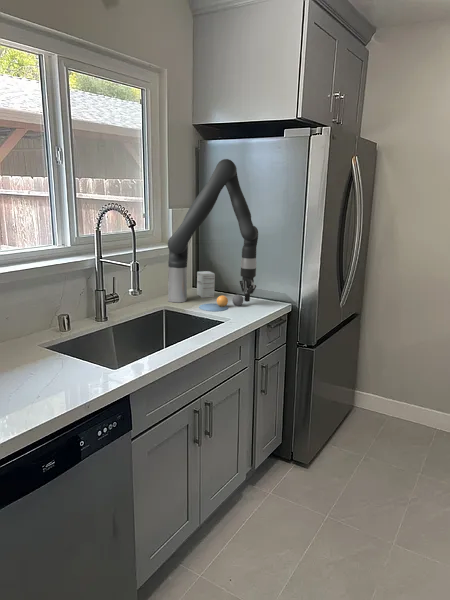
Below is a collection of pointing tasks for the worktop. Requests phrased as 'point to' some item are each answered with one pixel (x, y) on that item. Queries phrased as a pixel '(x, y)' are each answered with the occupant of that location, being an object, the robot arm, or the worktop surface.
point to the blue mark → (212, 307)
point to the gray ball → (237, 300)
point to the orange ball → (222, 301)
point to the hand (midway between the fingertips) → (246, 301)
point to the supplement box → (205, 284)
